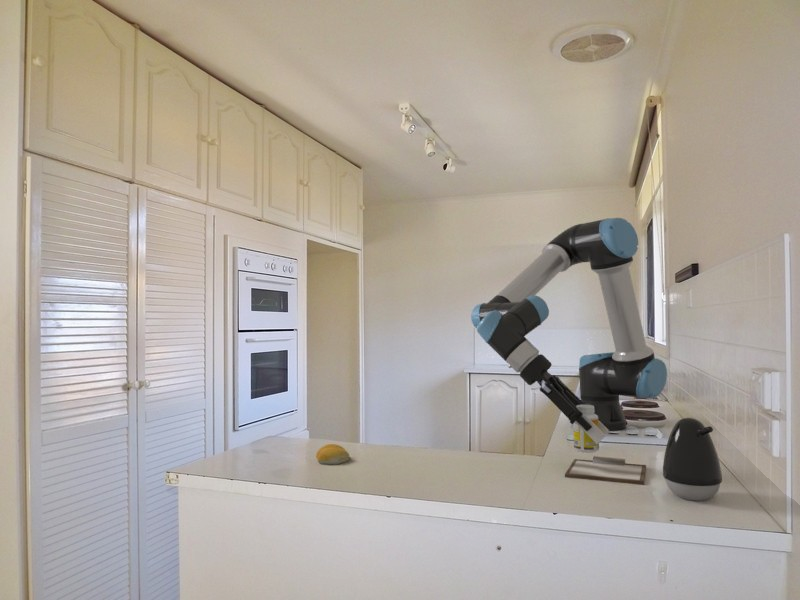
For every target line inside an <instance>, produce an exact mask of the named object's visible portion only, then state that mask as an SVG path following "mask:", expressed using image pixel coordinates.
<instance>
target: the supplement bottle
mask: <svg viewBox="0 0 800 600" xmlns="http://www.w3.org/2000/svg"><path fill="white" fill-rule="evenodd" d="M576 407H577V408H578V409H579V411H580V412H582V414H585V415H586V416H587V417H588V418H589V419H590V420H591V421H592V422H593V423H594V424H595V425H596V426H597V427H598V428H599V425H598V416H597V415H596V414H594V413H595V412H594V411H595V410H594V406H592V405H577V406H576ZM572 428H573V433H572V434H573V448H574V450H575V451H577V452H581V453H596V452H599V451H600V442H599V443H598V444H596V443H595V442H594V441H593V440H592V439H591V438H590V437H589V436H588V435H587V434H586V433H585V432H584V431H583V430H582V429H581V428H580V427H579V426H578V425H577V424H576V421H575V422H574V423H573V424H572Z"/></svg>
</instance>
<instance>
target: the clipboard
mask: <svg viewBox="0 0 800 600" xmlns="http://www.w3.org/2000/svg"><path fill="white" fill-rule="evenodd" d="M646 472H647V465H646V464H638V463H637V464H636V463H626V459H625V458H620V457H619V458H618V457H609V456H608V457H607V456H596V455H595V456H593V457H592V459H591V460H589V459H578V458H577V459H576V458H575V459H573V461H572V462H571V464H570V465H569V467H568V468H567V470H566V472H565V473H564V477H565V478H572V479H573V478H575V479H582V480H584V479H585V480H592V481H605V482H613V483H614V482H615V483H624V484H632V485H633V484H634V485H644V484H645V479H646Z"/></svg>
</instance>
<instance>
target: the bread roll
mask: <svg viewBox="0 0 800 600" xmlns="http://www.w3.org/2000/svg"><path fill="white" fill-rule="evenodd" d="M315 458H316V459H317V462H318V463H319V464H321V465H330V464H333V465H339V463H340V464H343V462H344V463H346V462H348V461H349V459H350V454H349V451H347V450H346V449H345V448H344V447H343V446H342V445H339V444H335V443H329V444H325V445H324V446H322V447H321V448H319V449H318V450H317V452H316V454H315Z"/></svg>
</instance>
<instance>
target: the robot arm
mask: <svg viewBox="0 0 800 600" xmlns="http://www.w3.org/2000/svg"><path fill="white" fill-rule="evenodd" d="M638 245H639V238H638V234H637V231H636V229H635V227H634V226H633V225H632V224H631V223H630V222H629V221H628V220H627V219H625V218H622V217H609V218H604V219H598V220H595V221H590V222H589V221H588V222H584V223H577V224H575V225H573V226H570V227H568V228H567V229H565V230H564V231H562V232H561V233H560V234H557V236H556V237H554V238H553V239H552V240H550V241H549V242H548V243H547V244H545V246H544V247H543V248H542V252H541V254H540V255H539V256H538V257H536V258H535V259H534V260H533V261H532V262H531V263H530V264H529V265H528V266H527V267H526V268H524V269H523V271H521V272H520V273H519V274H518V275H517V276H515V278H514V279H512V280H511V281H510V282H509V283H508V284H507V285H506V286H505V287H504V288H503V289H502V290H501V291H499V292H498V293H497V294H496V295H495V296H494V297H493V298H491V299H490V300H489V301H488V302H483V303H479V304H477V305H475V306H474V307H473V308H472V311H471V313H470V316H471V317H470V319H471V323H472V325H473V326H474V327H475V328H476V332H477V333H478V334H479V336H480V337H481V339H483V340H484V342H485V343H486V344H487V345H488V346H489V347H491V349H493V351H494V352H496V354H497V355H499V357H501V358H502V360H504V361H505V362H506V363H507V364H508V365H507V367H508V368H509V369H513V371H515V373H519V377H520V378H521V379H522V380H524V382H525V383H526V385H529V386H532V385H534V384H535V383H536V382H537V384H539V386H540V387H539V392H541V393H543V395H545V396H546V397H547V398H548V399H549V400H550V401H551V402H552V403H553V405H555V406H556V408H558V410H560V411H561V413H562V414H563V415H564V416H565V417H566V418H567V419H568V421H569V423H570V424H571V425H573V423H574V422H575V421H576V424H577V425H578V426H579V427H580V428H581V429H582V430H583V431H584V432H585V433H586V434H587V435H588V436H589V437H590V438H591V439H592V440H593V441H594V442H595V443H596V444H598V443H599V444H600V442H601V441H602V440H604V438H606V437H607V435H606V434H607V433H608V432H609V431H618V430H624V429H626V428H627V420H626V417H625V414H624V411H623V408H622V406H621V402H620V396H622V397H630V398H631V397H632V398H638V399H655V398H657V397H658V396H659V395H661V393H662V392H663V391H664V389H665V386H666V384H667V379H668V370H667V366H666V364H665V362H664V361H663V360H662V359H659V358H655V353H654V352H655V351H654V349H653V348H652V347H650V346H648V345H647V342H646V339H645V338H646V337H645V334H644V329H643V324H642V320H641V316H640V311H639V307H638V303H637V302H638V301H637V299H636V294H635V289H634V284H633V280H632V275H631V271H630V267H631V265H632V264H633V262H634V258H633V256H635V255H636V253H637V252H638V249H639V248H638ZM581 263H582V264H583V263H589V265H590V269H591V271H593V272H594V273H596V274H597V275H598V280H599V284H600V288H601V292H602V296H603V301H604V305H605V310H606V314H607V317H608V319H607V320H608V323H609V327H610V331H611V336H612V340H613V345H614V348H615V351H612V352H602V353H593V354H585V355H582V356H580V358H579V365H578V366H579V367H578V372H579V373H578V374H579V391H580V396H579V397H580V398H579V397H578V395H576V394H575V393H574V392H573V391H572V390H571V389H570V388H569V387H568V386H567V385H566V384H565V383H564V382H563V381H562V380H561V379H560V377H558V375H557V376H556V375H555V374H554V375H552V374H551V373H550V372H549V371H548V370H549V369H551V367H552V362H551V361H550V360H549V359H547V357H546V356H545V355H543V354H542V353H540V350H539V349H538V348H537V347H536V346H535V345H533V343H532V342H530V341H529V339H527V338H526V337H525V336H527V335H528V334H529V333H530V332H532V331H534V330H535V329H536V328H538V327H539V326H541V325H542V323H544V321H546V320H547V319H548V317H549V315H550V310H549V309H550V308H549V307H548V304H547V302H546V301H545V300H544V299H543V298H542V297H541V296H538V295H537V294H538V293H540V292H541V290H542V289H543V288H545V287H546V286H547V284H549V282H551V281H552V280H553V279H554V278H555V277H556V276H557V275H558V274H559V273H562V272H566V271H567V270H569V268H570V267H572V266H574V265H577V264H581ZM539 353H540V354H539ZM577 405H592V406H594V410H595V411H594V412H595V413H594V414H596V415H597V416H598V425H599V428H598V427H597V426H596V425H595V424H594V423H593V422H592V421H591V420H590V419H589V418H588V417H587V416H586V415H585V414H582V412H580V411H579V409H578V408H577V407H576V406H577Z"/></svg>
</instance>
